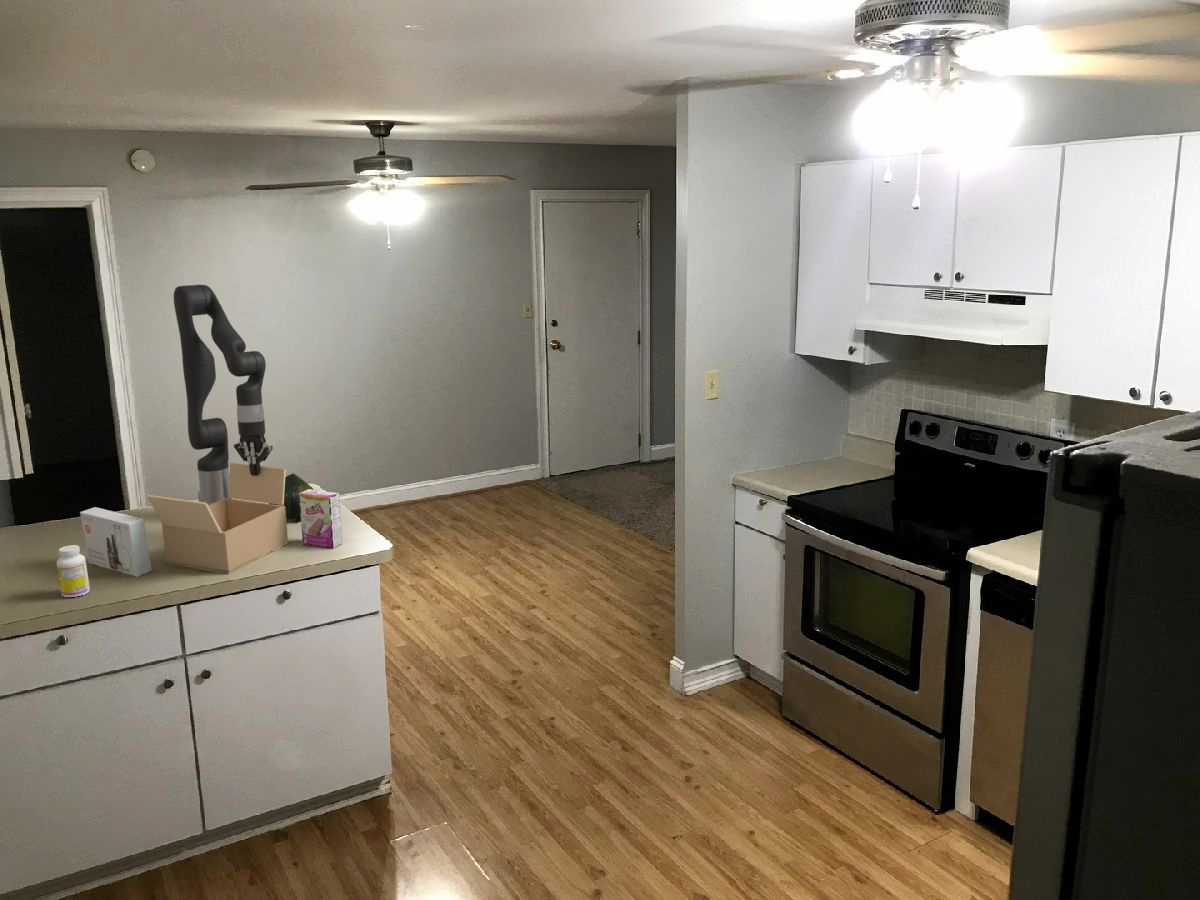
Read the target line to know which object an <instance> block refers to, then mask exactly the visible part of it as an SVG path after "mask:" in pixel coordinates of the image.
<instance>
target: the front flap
mask: <svg viewBox="0 0 1200 900" xmlns="http://www.w3.org/2000/svg"><path fill="white" fill-rule="evenodd" d="M146 498H147V499H148V501H149V503H150V504H151V506H152V508H153V510H154V511H155V513H156V515H157V517H158V519H159V520H160V522H161V525H162V524H163V525H167V526H173V527H180V528H187V529H193V530H200V531H207V532H213V533H220V534H221V533H222V531H221V529H220V527H219V526H218V524H217V522H216V520H215V518H214V516H213V514H212V512H211V510H210V508H209V506H208V505H207V503H205V502H199V500H198V501H195V500H189V499H188V500H187V499H181V498H175V497H167V496H161V495H152V494H147V495H146Z"/></svg>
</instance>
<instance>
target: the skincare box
mask: <svg viewBox="0 0 1200 900" xmlns="http://www.w3.org/2000/svg"><path fill="white" fill-rule="evenodd" d="M79 514H80V519H81V526H82V532H83V537H84V543H85V547H86V554H87V560H88V564H89V563H93V564H95V565H94V566H96V565H99V566H98V567H100V566H102V567H101V568H103V567H106V568H105V569H107V568H110V569H113V570H117V571H121V572H124V573H127V574H130V575H129V576H131V575H133V576H132V577H134V576H139V577H141V576H143V575H142V574H144V575H145V573H146V574H148V573H147V572H149V573H151V572H152V571H153V570H152V563H151V558H150V550H149V543H148V538H147V533H146V526H145V519H144V518H141V517H137V516H133V515H129V514H126V513H121V512H116V511H113V510H108V509H105V508H101V507H96V506H94V507H91V508H88V509H85V510H83V511H80V512H79ZM93 564H92V565H93ZM110 569H109V570H110ZM113 570H112V571H113ZM117 571H116V572H117ZM150 571H151V572H150ZM124 573H123V574H124ZM127 574H126V575H127ZM140 575H141V576H140Z"/></svg>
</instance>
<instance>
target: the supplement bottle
mask: <svg viewBox="0 0 1200 900" xmlns="http://www.w3.org/2000/svg"><path fill="white" fill-rule="evenodd" d="M80 551H81V550H80V546H79V545H77V544H71V545H66V546H62V547H60V548H59V549H58V555H60V557H59V558H58V559H57V560H56V568H57V575H58V580H59V588H60V593H61V596H62V597H63V596H64V597H63V598H65V597H76V598H78V597H77V596H81V595H83V596H85V594H86V595H87V594H89V592H90V590H91V589H90V581H89V575H88V566H87V561H86V557H85V556H84V555H83V554H81V553H80ZM81 597H82V596H81Z"/></svg>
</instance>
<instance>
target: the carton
mask: <svg viewBox="0 0 1200 900" xmlns="http://www.w3.org/2000/svg"><path fill="white" fill-rule="evenodd" d="M208 506H209V508H210V510H211V512H212V514H213V516H214V518H215V520H216V522H217V524H218V526H219V527H220V529H221V531H222V533H221V534H220V533H213V532H207V531H200V530H193V529H187V528H180V527H173V526H167V525H163V524H162V523H161V527H162V528H161V529H162V537H163V543H164V554H165V561H166V564H167V565H172V564H173V565H174V566H177V567H178V566H180V567H184V566H185V567H186V568H190V569H197V570H201V571H202V570H203V571H207V572H208V571H209V572H213V573H215V572H216V573H222V574H228V575H230V574H231V573H234V572H236V571H238V570H240V569H242V568H245V566H248V565H250V564H251V563H253V562H256V561H257V559H258V560H259V558H260V559H261V558H263V557H265V556H267V555H268V554H267V553H269V554H271V553H272V552H271V551H273V550H275V549H277V548H279V547H281V546H283V545H285V544H286V543H288V544H289V539H288V538H289V536H288V525H287V523H288V522H287V519H286V511H285V506H281V505H273V504H269V503H263V502H255V501H248V500H240V499H233V498H232V499H228V498H225V499H222V500H220V501H217V502H215V503H212V504H210V505H208ZM285 546H286V545H285ZM283 547H284V546H283ZM281 548H282V547H281ZM279 549H280V548H279ZM277 550H278V549H277ZM275 551H276V550H275ZM270 552H271V553H270ZM273 552H274V551H273ZM266 554H267V555H266ZM264 555H265V556H264ZM255 560H256V561H255Z"/></svg>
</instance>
